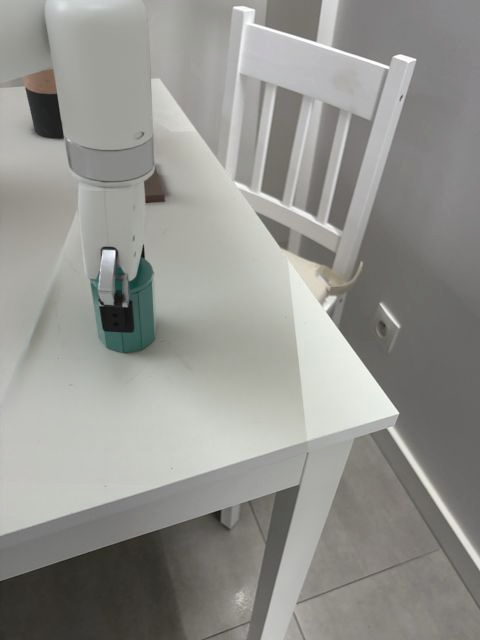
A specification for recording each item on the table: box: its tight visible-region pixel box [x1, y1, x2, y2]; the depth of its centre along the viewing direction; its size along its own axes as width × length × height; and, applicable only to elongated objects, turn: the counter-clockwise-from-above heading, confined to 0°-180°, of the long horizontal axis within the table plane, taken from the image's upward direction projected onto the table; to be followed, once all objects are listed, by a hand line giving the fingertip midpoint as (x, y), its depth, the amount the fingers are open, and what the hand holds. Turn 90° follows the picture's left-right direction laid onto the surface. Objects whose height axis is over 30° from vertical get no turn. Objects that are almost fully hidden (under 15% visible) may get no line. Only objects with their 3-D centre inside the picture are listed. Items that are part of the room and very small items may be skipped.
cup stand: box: [144, 166, 166, 203], centre depth 84 cm, size 9×9×8 cm
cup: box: [89, 257, 157, 354], centre depth 61 cm, size 6×7×9 cm
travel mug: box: [22, 69, 64, 140], centre depth 90 cm, size 8×8×20 cm
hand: (125, 300), depth 61 cm, fingers open, 9 cm apart
